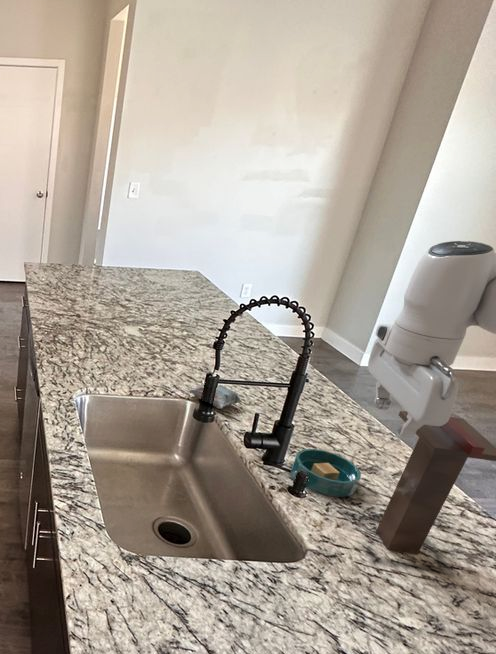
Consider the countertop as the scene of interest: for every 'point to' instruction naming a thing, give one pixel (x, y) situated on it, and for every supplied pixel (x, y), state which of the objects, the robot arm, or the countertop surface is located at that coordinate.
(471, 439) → the red square bar
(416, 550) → the brown pedestal stand
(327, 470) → the block
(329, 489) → the bowl
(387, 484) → the countertop surface
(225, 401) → the packaged food
